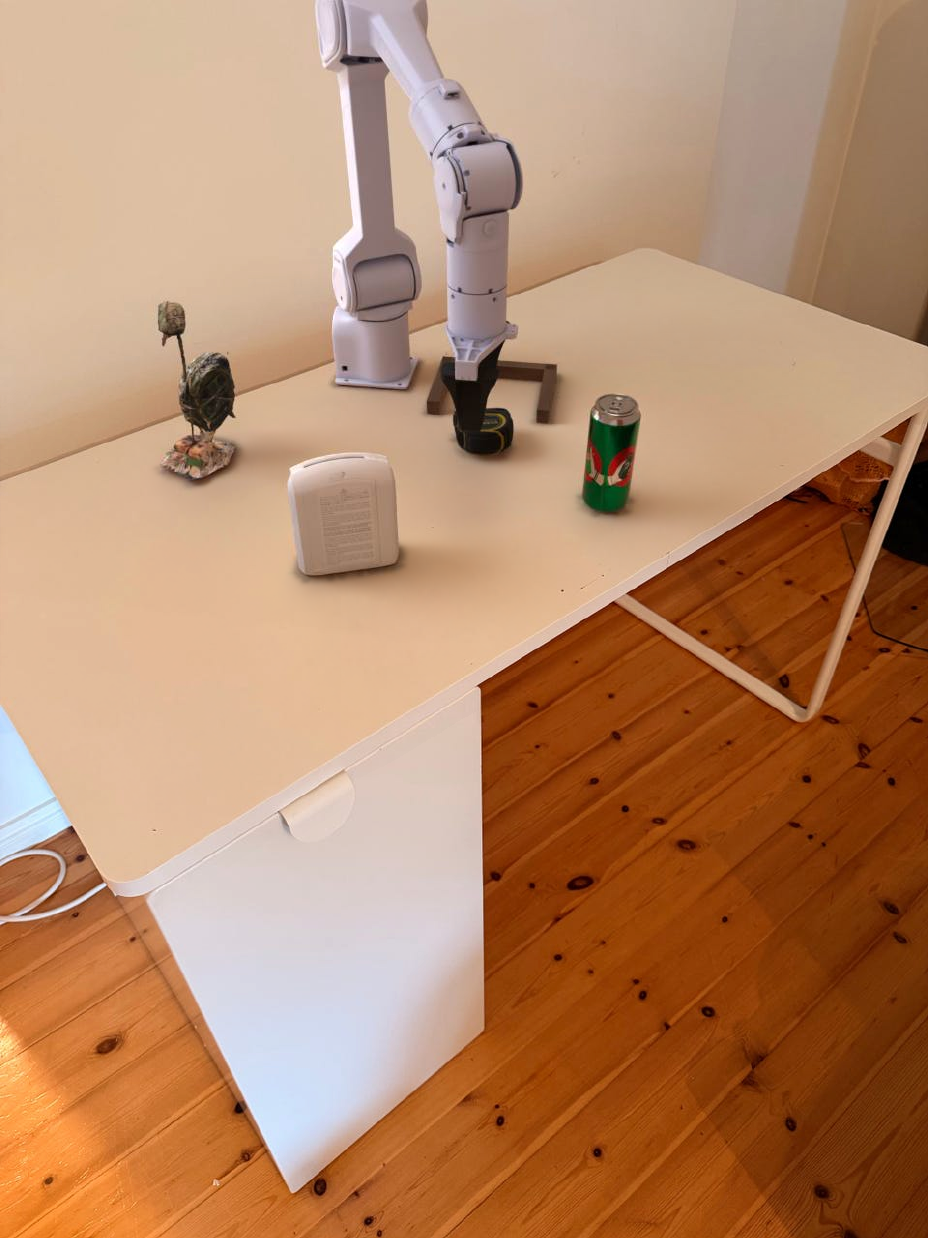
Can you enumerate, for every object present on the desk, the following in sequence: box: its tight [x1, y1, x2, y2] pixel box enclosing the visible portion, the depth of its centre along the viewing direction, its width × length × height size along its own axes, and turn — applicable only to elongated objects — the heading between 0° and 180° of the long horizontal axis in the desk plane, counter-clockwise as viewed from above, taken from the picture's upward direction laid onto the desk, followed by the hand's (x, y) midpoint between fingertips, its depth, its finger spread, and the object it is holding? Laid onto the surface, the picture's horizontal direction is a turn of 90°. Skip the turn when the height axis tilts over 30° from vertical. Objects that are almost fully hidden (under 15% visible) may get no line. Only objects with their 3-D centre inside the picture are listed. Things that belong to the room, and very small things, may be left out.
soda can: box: [581, 392, 642, 514], centre depth 97 cm, size 5×5×12 cm
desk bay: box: [426, 355, 558, 424], centre depth 117 cm, size 15×12×2 cm
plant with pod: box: [157, 300, 237, 481], centre depth 101 cm, size 8×11×20 cm
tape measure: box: [452, 407, 515, 456], centre depth 108 cm, size 7×7×4 cm
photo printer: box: [286, 452, 400, 576], centre depth 90 cm, size 10×4×12 cm, turn 103°
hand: (476, 409), depth 97 cm, fingers open, 7 cm apart
